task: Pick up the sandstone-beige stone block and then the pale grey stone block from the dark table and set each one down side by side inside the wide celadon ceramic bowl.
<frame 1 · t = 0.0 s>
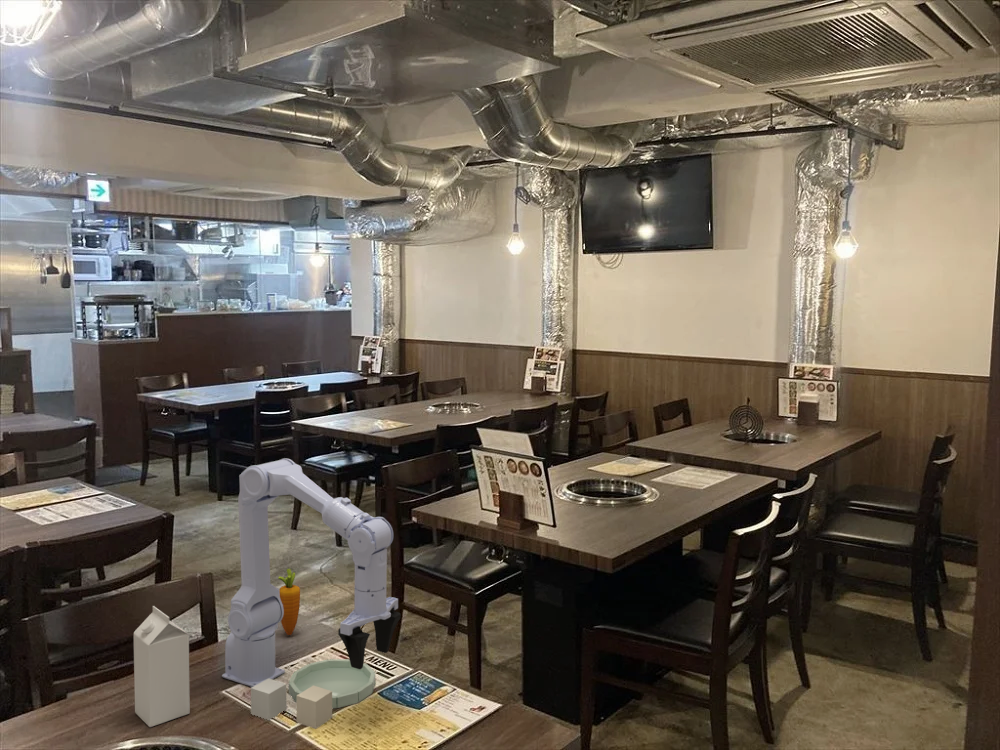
hand: (370, 659, 143), 10 cm above the table, tool pointing down, fingers open, 7 cm apart
grey stone block: (268, 712, 143), on the table
milk carton: (162, 714, 142), on the table
carrot: (289, 636, 176), on the table
beige stone block: (314, 720, 141), on the table
serving bowl: (332, 687, 153), on the table
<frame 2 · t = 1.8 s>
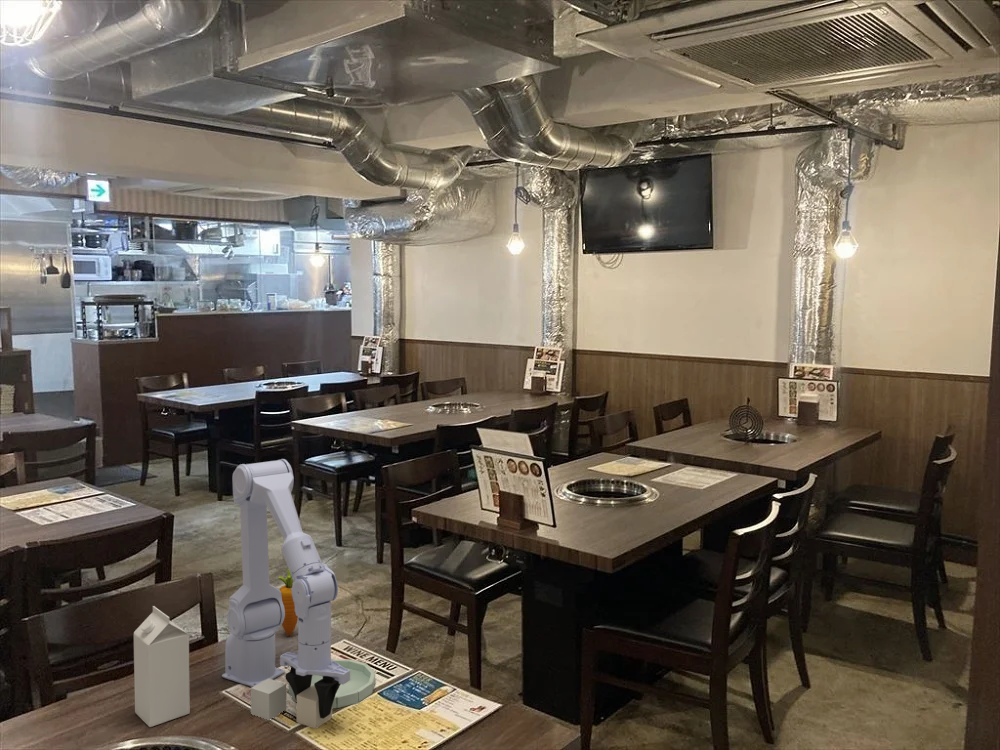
hand: (314, 712, 141), 1 cm above the table, tool pointing down, fingers closed on beige stone block, 4 cm apart
beige stone block: (314, 719, 141), on the table, touching gripper
everything else where it was.
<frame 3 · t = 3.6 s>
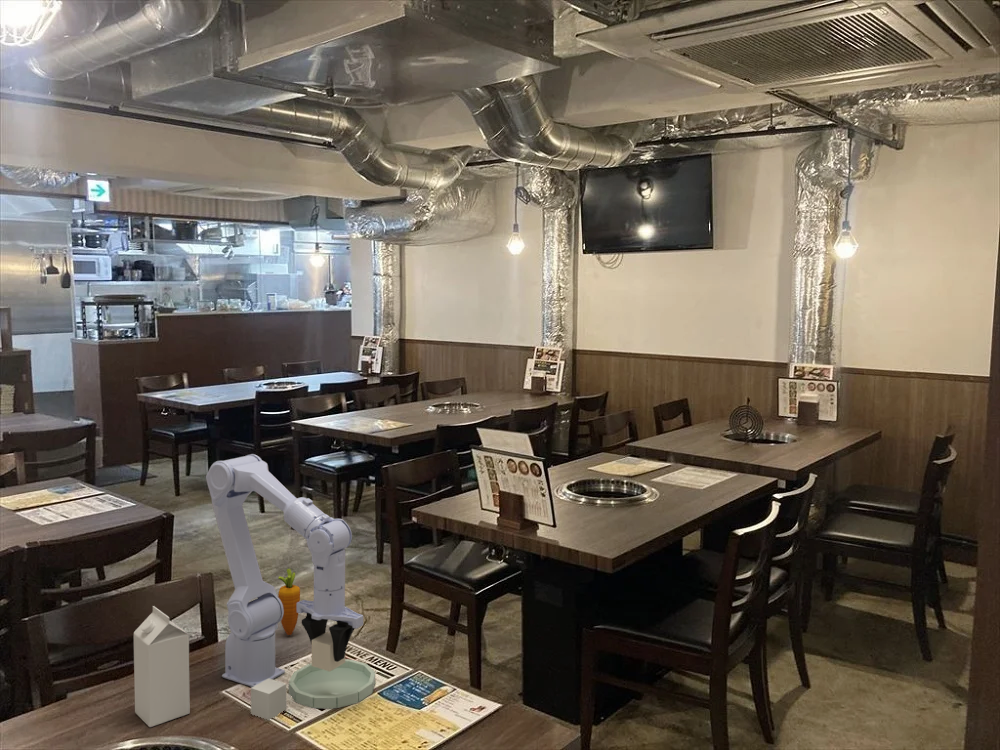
hand: (329, 656, 147), 8 cm above the table, tool pointing down, fingers closed on beige stone block, 4 cm apart
beige stone block: (328, 664, 147), point 7 cm above the table, touching gripper
everything else where it was.
when the fingers open (3 cm above the table, at t = 5.4 s): beige stone block drops 1 cm, resting on serving bowl.
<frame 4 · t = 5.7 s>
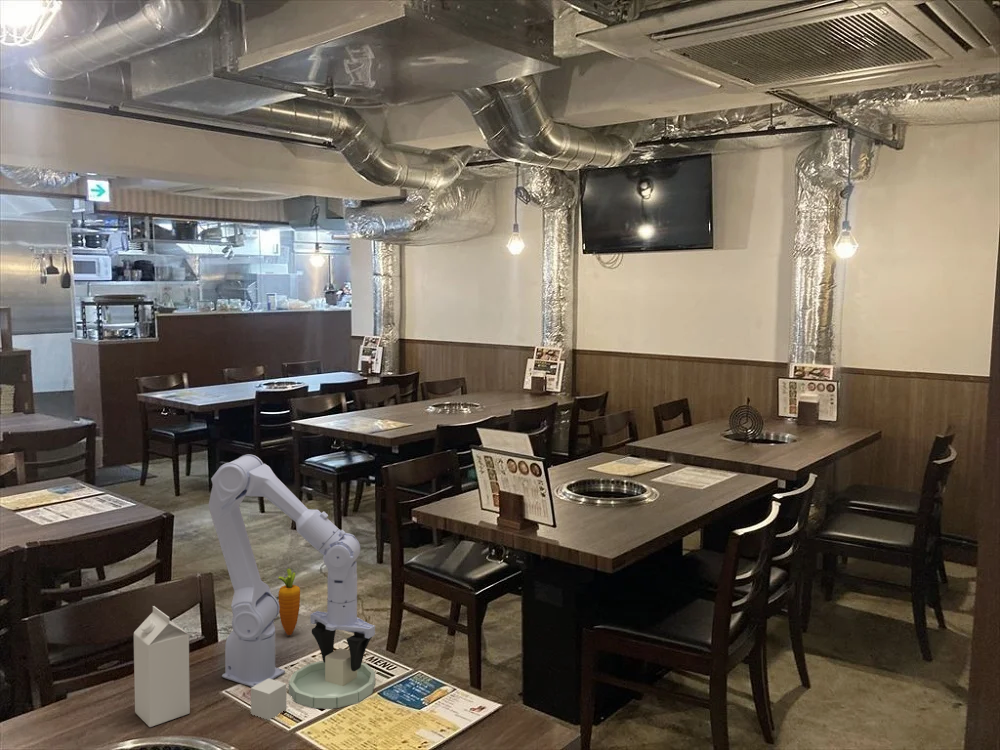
hand: (341, 664, 155), 3 cm above the table, tool pointing down, fingers open, 6 cm apart
beige stone block: (341, 679, 155), point 1 cm above the table, touching serving bowl
everything else where it was.
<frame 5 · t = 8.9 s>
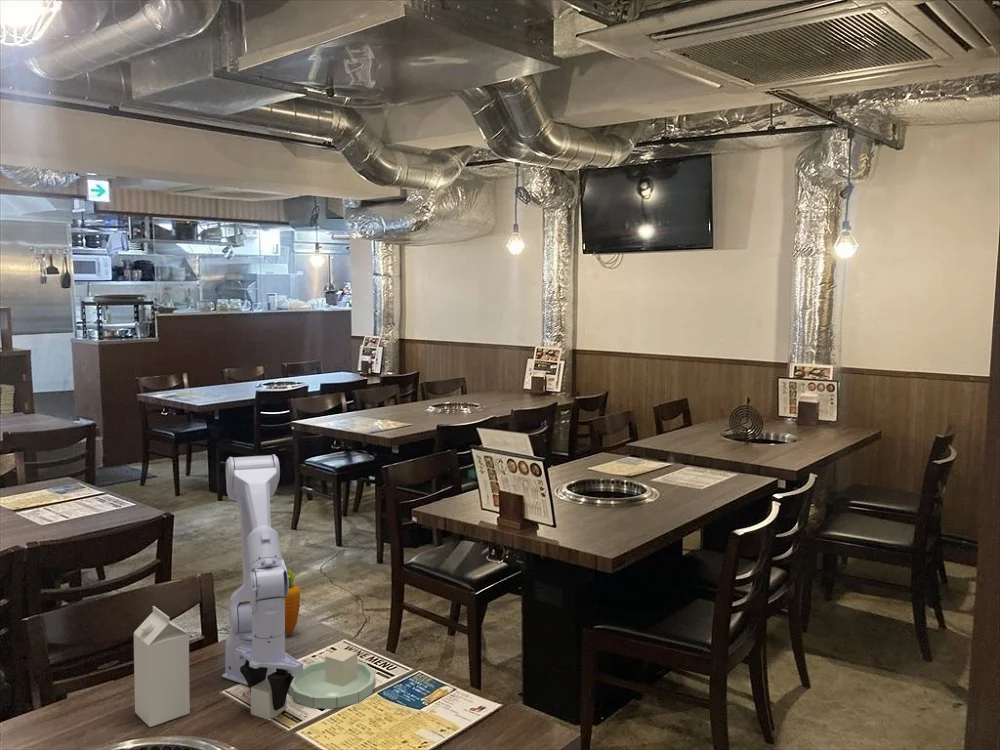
hand: (268, 704, 143), 1 cm above the table, tool pointing down, fingers closed on grey stone block, 4 cm apart
grey stone block: (268, 711, 143), on the table, touching gripper
everything else where it was.
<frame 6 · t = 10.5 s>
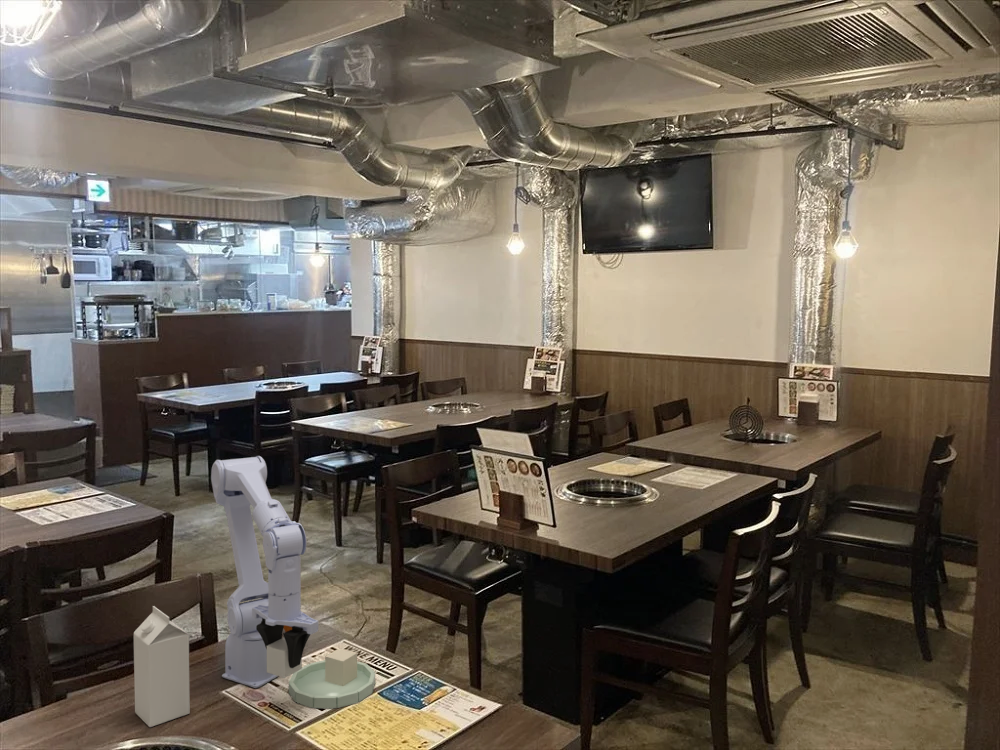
hand: (284, 662, 144), 8 cm above the table, tool pointing down, fingers closed on grey stone block, 4 cm apart
grey stone block: (284, 670, 144), point 7 cm above the table, touching gripper
everything else where it was.
when the fingers open (3 cm above the table, at t = 12.3 s): grey stone block drops 1 cm, resting on serving bowl.
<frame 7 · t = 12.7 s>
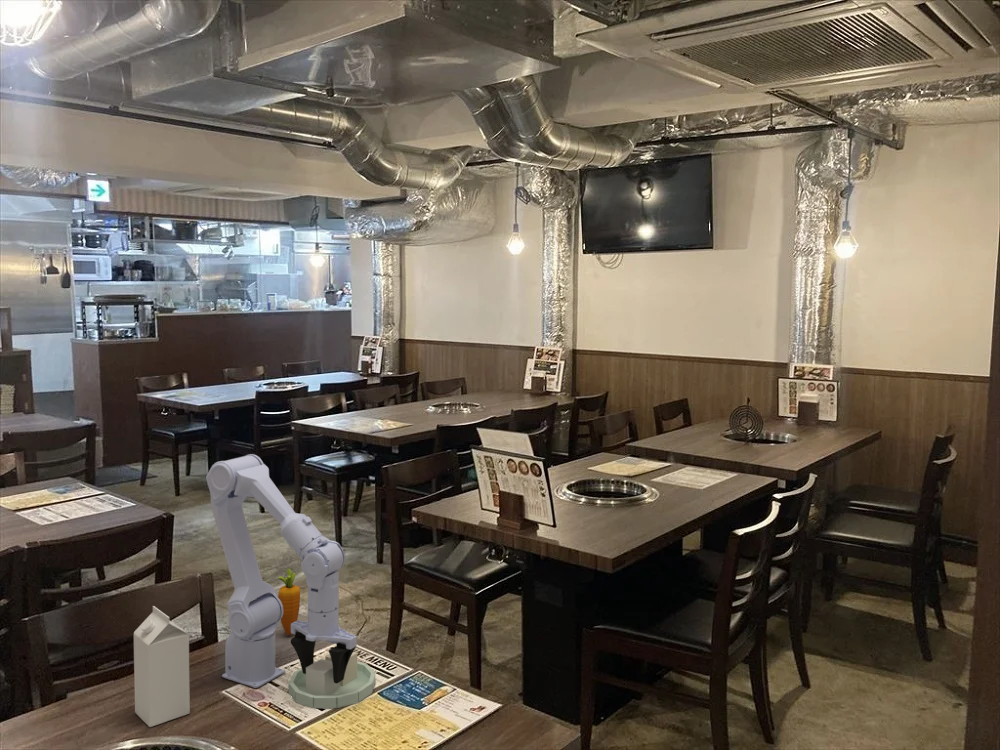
hand: (323, 676, 150), 3 cm above the table, tool pointing down, fingers open, 7 cm apart
grey stone block: (322, 690, 150), point 1 cm above the table, touching serving bowl
everything else where it was.
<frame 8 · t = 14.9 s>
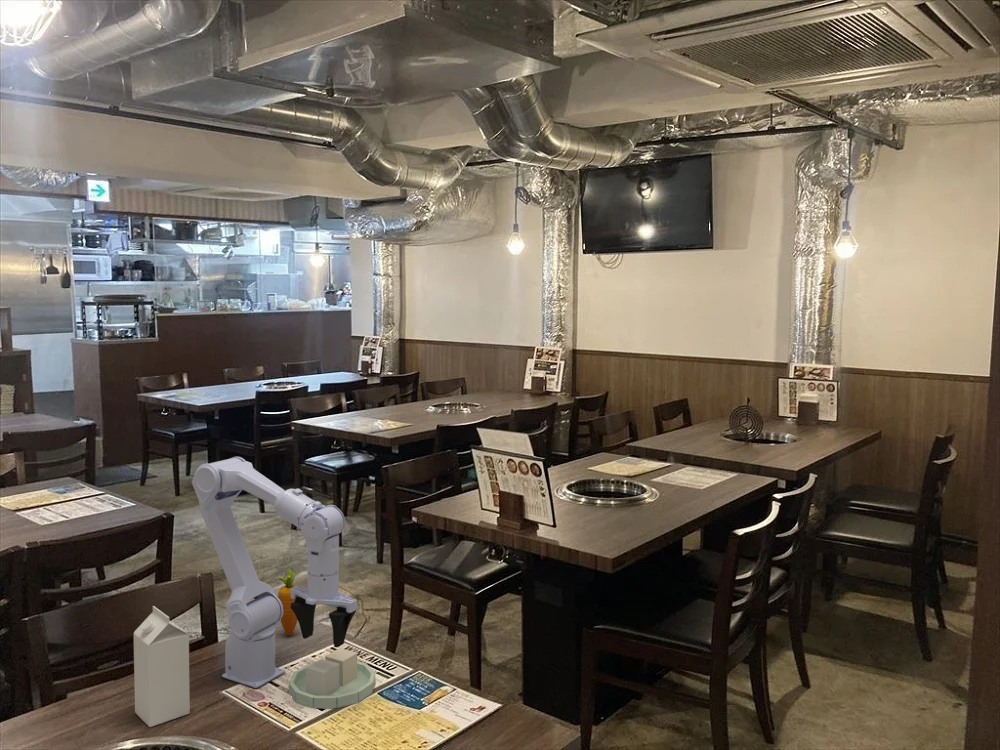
hand: (323, 641, 149), 10 cm above the table, tool pointing down, fingers open, 7 cm apart
nothing on the table moved.
at the end: beige stone block inside the target area on the serving bowl (2.6 cm from its centre), point 0.6 cm above the serving bowl's base; grey stone block inside the target area on the serving bowl (3.0 cm from its centre), point 0.6 cm above the serving bowl's base; the gripper is holding nothing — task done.
